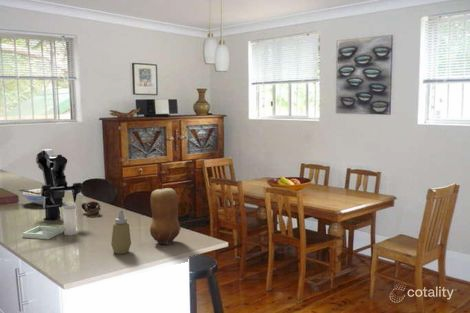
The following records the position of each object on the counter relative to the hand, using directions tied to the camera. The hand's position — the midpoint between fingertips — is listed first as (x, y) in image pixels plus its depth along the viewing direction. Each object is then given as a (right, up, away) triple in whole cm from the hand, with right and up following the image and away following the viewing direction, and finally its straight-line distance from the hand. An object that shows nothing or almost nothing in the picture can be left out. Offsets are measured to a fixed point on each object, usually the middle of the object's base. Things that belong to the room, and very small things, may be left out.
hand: (65, 203), depth 214 cm
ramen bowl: (-35, -6, +59) cm, 69 cm away
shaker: (+4, -14, -5) cm, 16 cm away
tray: (-7, -14, -7) cm, 17 cm away
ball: (-4, -14, -11) cm, 18 cm away
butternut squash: (+50, -17, -14) cm, 55 cm away
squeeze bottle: (+34, -18, -27) cm, 47 cm away
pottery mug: (+1, -10, +36) cm, 37 cm away
